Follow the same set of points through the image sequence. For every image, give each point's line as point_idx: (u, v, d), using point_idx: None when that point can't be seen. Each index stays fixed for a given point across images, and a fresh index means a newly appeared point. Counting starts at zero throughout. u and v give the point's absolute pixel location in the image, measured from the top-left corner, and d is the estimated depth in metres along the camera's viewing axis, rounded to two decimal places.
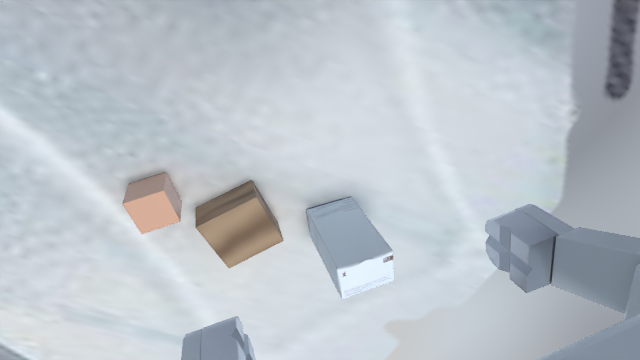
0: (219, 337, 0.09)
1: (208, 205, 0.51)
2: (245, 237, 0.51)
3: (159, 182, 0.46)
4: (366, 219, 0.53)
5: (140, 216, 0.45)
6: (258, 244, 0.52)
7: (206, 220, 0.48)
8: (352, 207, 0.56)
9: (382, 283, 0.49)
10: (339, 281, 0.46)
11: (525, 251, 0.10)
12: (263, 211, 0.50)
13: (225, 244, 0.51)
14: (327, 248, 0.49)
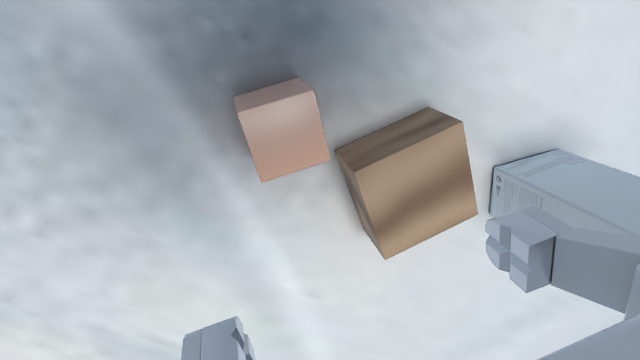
0: (219, 337, 0.09)
1: (360, 144, 0.29)
2: (424, 202, 0.29)
3: (295, 85, 0.25)
4: (624, 172, 0.31)
5: (265, 144, 0.23)
6: (440, 216, 0.30)
7: (372, 161, 0.26)
8: (578, 159, 0.34)
9: None
10: None
11: (525, 251, 0.10)
12: (465, 152, 0.28)
13: (392, 213, 0.28)
14: (594, 214, 0.26)
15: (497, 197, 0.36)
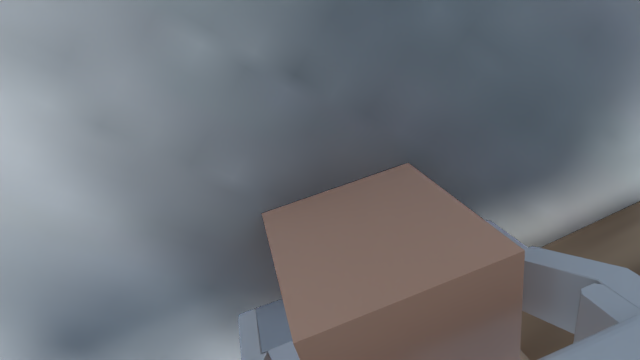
0: (275, 316, 0.09)
1: None
2: None
3: (429, 205, 0.09)
4: None
5: None
6: None
7: None
8: None
9: None
10: None
11: None
12: None
13: None
14: None
15: None
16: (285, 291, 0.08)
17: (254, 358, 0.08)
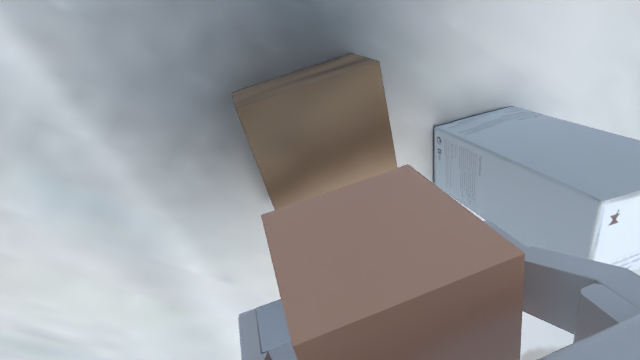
0: (275, 316, 0.09)
1: (261, 86, 0.24)
2: (332, 162, 0.24)
3: (428, 207, 0.09)
4: (581, 125, 0.25)
5: None
6: None
7: (262, 99, 0.21)
8: (531, 115, 0.28)
9: None
10: (596, 239, 0.18)
11: None
12: (383, 103, 0.23)
13: (289, 171, 0.23)
14: (534, 170, 0.21)
15: (439, 162, 0.30)
16: (284, 294, 0.08)
17: (254, 358, 0.08)
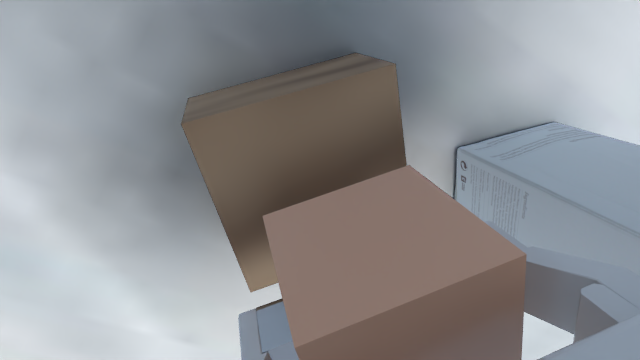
0: (275, 315, 0.09)
1: (228, 91, 0.17)
2: None
3: (430, 208, 0.09)
4: None
5: None
6: None
7: (223, 110, 0.14)
8: (585, 135, 0.22)
9: None
10: None
11: None
12: (398, 124, 0.16)
13: (261, 213, 0.16)
14: (618, 223, 0.14)
15: (462, 193, 0.24)
16: (286, 295, 0.08)
17: (254, 358, 0.08)
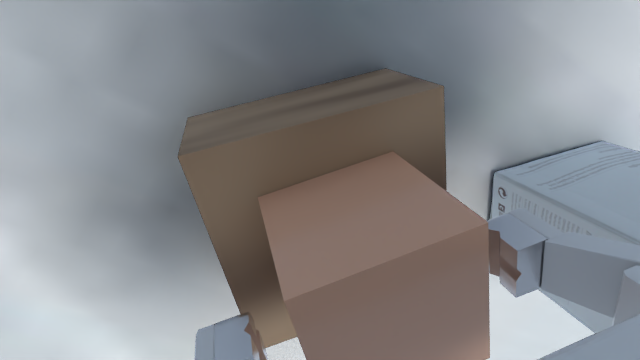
0: (232, 332, 0.09)
1: (236, 111, 0.14)
2: None
3: (408, 187, 0.10)
4: None
5: (351, 356, 0.09)
6: None
7: (231, 139, 0.11)
8: None
9: None
10: None
11: (514, 255, 0.10)
12: (441, 157, 0.13)
13: (273, 261, 0.13)
14: None
15: None
16: (278, 260, 0.09)
17: None
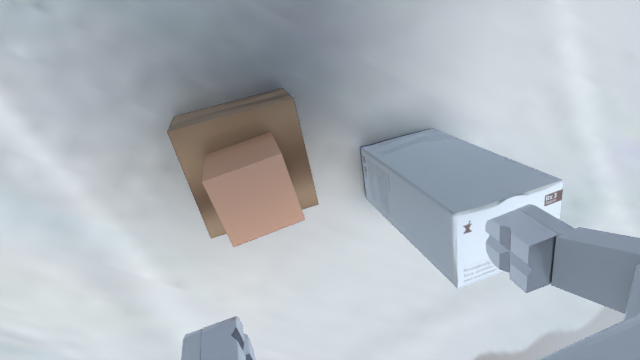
0: (219, 337, 0.09)
1: (198, 112, 0.28)
2: None
3: (265, 145, 0.24)
4: (476, 147, 0.29)
5: (234, 210, 0.22)
6: None
7: (191, 124, 0.25)
8: (443, 137, 0.32)
9: None
10: (456, 245, 0.22)
11: (525, 251, 0.10)
12: (299, 133, 0.27)
13: None
14: (418, 187, 0.25)
15: (366, 179, 0.34)
16: (204, 173, 0.22)
17: None
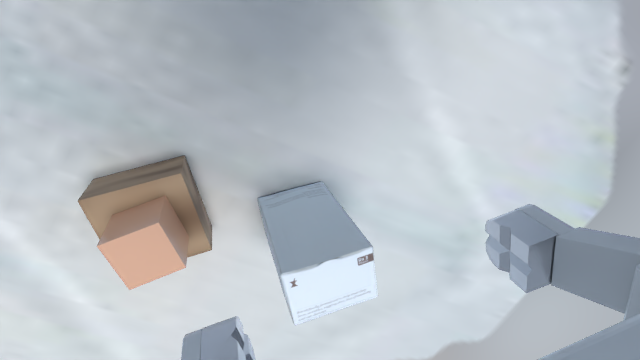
0: (219, 337, 0.09)
1: (111, 178, 0.35)
2: None
3: (154, 211, 0.31)
4: (338, 206, 0.36)
5: (126, 264, 0.30)
6: None
7: (98, 194, 0.32)
8: (321, 192, 0.40)
9: (359, 300, 0.32)
10: (287, 295, 0.29)
11: (525, 251, 0.10)
12: (188, 198, 0.34)
13: None
14: (273, 245, 0.32)
15: None
16: (102, 236, 0.30)
17: None
